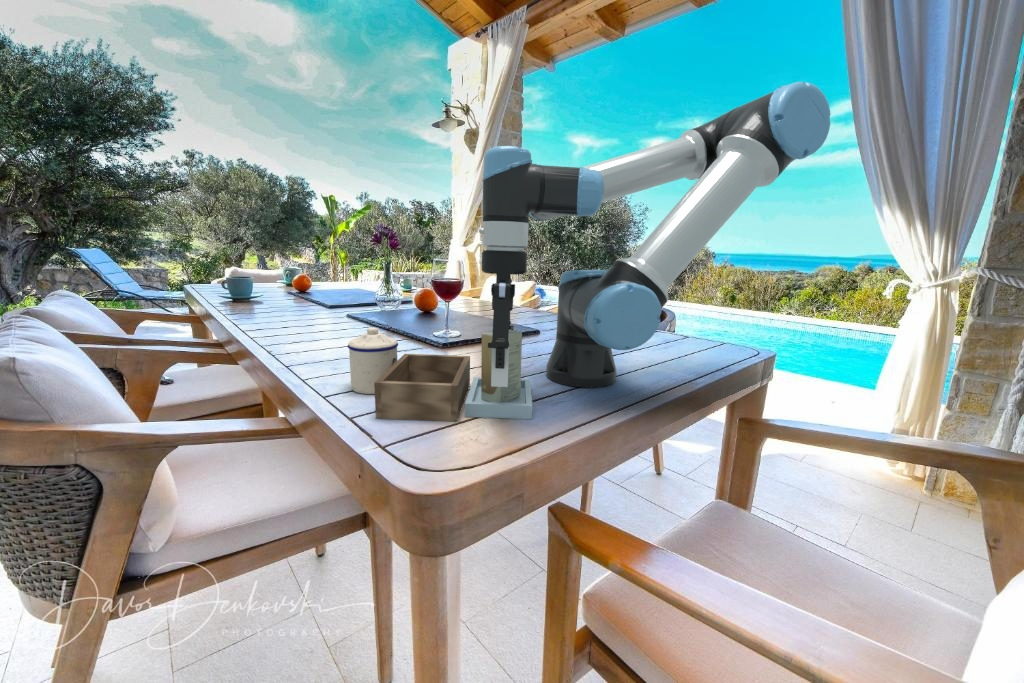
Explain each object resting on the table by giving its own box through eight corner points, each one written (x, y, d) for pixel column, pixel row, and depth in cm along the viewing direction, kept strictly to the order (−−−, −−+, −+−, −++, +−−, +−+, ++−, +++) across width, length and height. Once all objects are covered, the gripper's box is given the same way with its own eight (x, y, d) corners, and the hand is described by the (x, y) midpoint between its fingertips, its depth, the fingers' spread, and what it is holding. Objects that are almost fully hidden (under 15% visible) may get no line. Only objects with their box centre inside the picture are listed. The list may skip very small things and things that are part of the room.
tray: (529, 390, 82) (529, 379, 81) (531, 419, 68) (532, 406, 67) (473, 388, 82) (473, 377, 81) (464, 416, 68) (465, 403, 68)
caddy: (469, 384, 84) (470, 356, 82) (457, 421, 66) (457, 385, 65) (405, 382, 84) (404, 353, 82) (375, 418, 66) (374, 382, 65)
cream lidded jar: (400, 393, 78) (398, 332, 75) (348, 397, 75) (344, 334, 72) (397, 374, 89) (395, 320, 86) (352, 376, 86) (349, 321, 83)
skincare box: (503, 391, 78) (505, 327, 76) (521, 397, 75) (523, 331, 73) (479, 399, 74) (480, 332, 71) (496, 406, 71) (498, 336, 68)
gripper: (487, 248, 80) (485, 356, 85) (474, 249, 57) (472, 397, 62) (525, 249, 80) (521, 357, 85) (529, 251, 57) (522, 399, 62)
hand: (500, 374), depth 74 cm, fingers open, 11 cm apart
